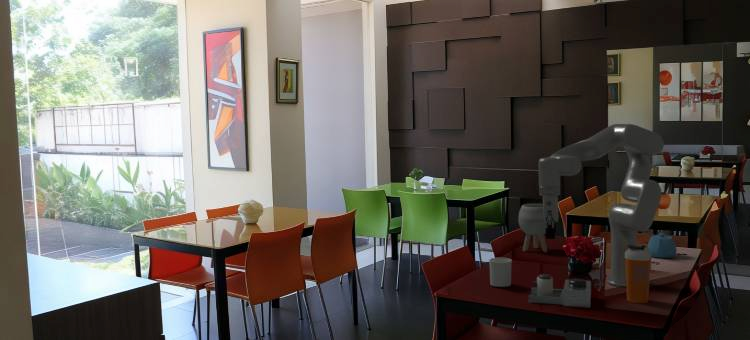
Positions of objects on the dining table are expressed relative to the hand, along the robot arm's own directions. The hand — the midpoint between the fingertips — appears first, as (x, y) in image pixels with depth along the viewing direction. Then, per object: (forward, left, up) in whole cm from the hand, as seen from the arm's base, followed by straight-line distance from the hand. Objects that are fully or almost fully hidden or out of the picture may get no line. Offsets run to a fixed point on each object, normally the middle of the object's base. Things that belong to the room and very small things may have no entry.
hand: (550, 235), depth 245 cm
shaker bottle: (-30, +1, -22) cm, 38 cm away
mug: (+20, -9, -22) cm, 31 cm away
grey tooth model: (+13, -76, -22) cm, 80 cm away
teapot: (-44, -75, -23) cm, 90 cm away
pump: (+2, +7, -22) cm, 23 cm away
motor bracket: (-4, +6, -22) cm, 23 cm away
